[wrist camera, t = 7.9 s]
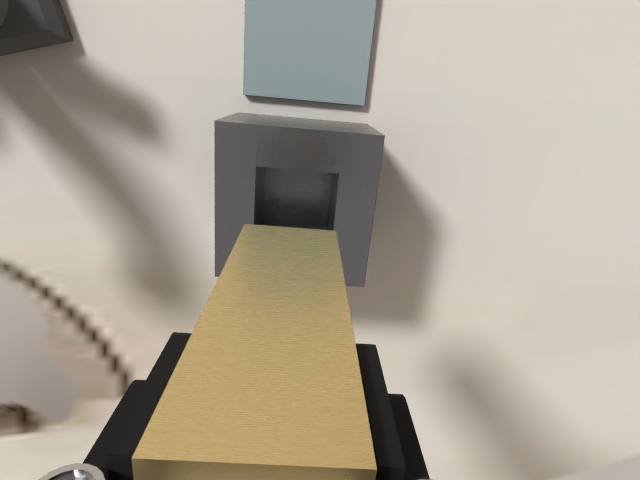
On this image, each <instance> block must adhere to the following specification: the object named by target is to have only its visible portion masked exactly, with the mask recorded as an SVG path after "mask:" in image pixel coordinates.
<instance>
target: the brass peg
mask: <svg viewBox="0 0 640 480" xmlns="http://www.w3.org/2000/svg"><path fill="white" fill-rule="evenodd" d="M132 468H133V478H134V480H375V479H376V473H377V466H376V460H375V454H374V449H373V443H372V437H371V431H370V425H369V419H368V414H367V408H366V402H365V396H364V390H363V384H362V379H361V373H360V367H359V361H358V355H357V349H356V344H355V338H354V332H353V326H352V320H351V315H350V309H349V303H348V297H347V291H346V285H345V280H344V274H343V268H342V262H341V256H340V250H339V245H338V239H337V233H336V231H333V230H320V229H306V228H293V227H279V226H266V225H252V224H244V226H243V228H242V231H241V233H240V235H239V237H238V239H237V241H236V243H235V245H234V247H233V249H232V251H231V253H230V255H229V257H228V260H227V262H226V264H225V266H224V268H223V270H222V272H221V274H220V276H219V278H218V280H217V282H216V284H215V286H214V289H213V291H212V293H211V295H210V297H209V299H208V301H207V303H206V305H205V307H204V309H203V311H202V313H201V315H200V318H199V320H198V322H197V324H196V326H195V328H194V330H193V332H192V334H191V336H190V338H189V340H188V342H187V344H186V347H185V349H184V351H183V353H182V355H181V357H180V359H179V361H178V363H177V365H176V367H175V369H174V371H173V373H172V376H171V378H170V380H169V382H168V384H167V386H166V388H165V390H164V392H163V394H162V396H161V398H160V400H159V402H158V405H157V407H156V409H155V411H154V413H153V415H152V417H151V419H150V421H149V423H148V425H147V427H146V429H145V431H144V434H143V436H142V438H141V440H140V442H139V444H138V446H137V448H136V450H135V452H134V454H133V456H132Z"/></svg>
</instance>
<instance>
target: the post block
mask: <svg viewBox="0 0 640 480" xmlns="http://www.w3.org/2000/svg"><path fill="white" fill-rule="evenodd" d="M384 137H385V135H383V134H381V133H380V132H378V131H377V130H375V129H374V128H372V127H371V126H369V125H368V124H360V123H349V122H337V121H326V120H315V119H304V118H292V117H281V116H270V115H258V114H247V113H236V114H233V115H230V116H227V117H224V118H221V119H218V120H215V276H216V277H219V276H220V274H221V272H222V270H223V268H224V266H225V264H226V262H227V260H228V257H229V255H230V253H231V251H232V249H233V247H234V245H235V243H236V241H237V239H238V237H239V235H240V233H241V231H242V228H243V226H244V224H252V225H266V226H279V227H293V228H306V229H320V230H333V231H336V233H337V239H338V245H339V250H340V256H341V262H342V268H343V274H344V280H345V285H347V286H362V287H364V282H365V275H366V268H367V261H368V253H369V246H370V239H371V232H372V224H373V217H374V210H375V203H376V195H377V188H378V181H379V174H380V166H381V159H382V152H383V145H384Z"/></svg>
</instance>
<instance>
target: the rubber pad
mask: <svg viewBox="0 0 640 480" xmlns="http://www.w3.org/2000/svg"><path fill="white" fill-rule="evenodd" d="M376 2H377V0H245V33H244V81H243V95H254V96H265V97H275V98H286V99H297V100H308V101H319V102H330V103H341V104H352V105H363V106H364V103H365V95H366V86H367V78H368V69H369V61H370V52H371V44H372V36H373V27H374V19H375V10H376Z"/></svg>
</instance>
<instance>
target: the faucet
mask: <svg viewBox="0 0 640 480" xmlns="http://www.w3.org/2000/svg"><path fill="white" fill-rule="evenodd" d="M68 41H73V37H72V35H71V32H70V29H69V26H68V23H67V21H66V18H65V15H64V12H63V10H62V7H61V4H60V1H59V0H0V56H1V55H6V54H11V53H16V52H20V51H25V50H30V49H35V48H39V47H44V46H49V45H54V44H58V43H63V42H68Z"/></svg>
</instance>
